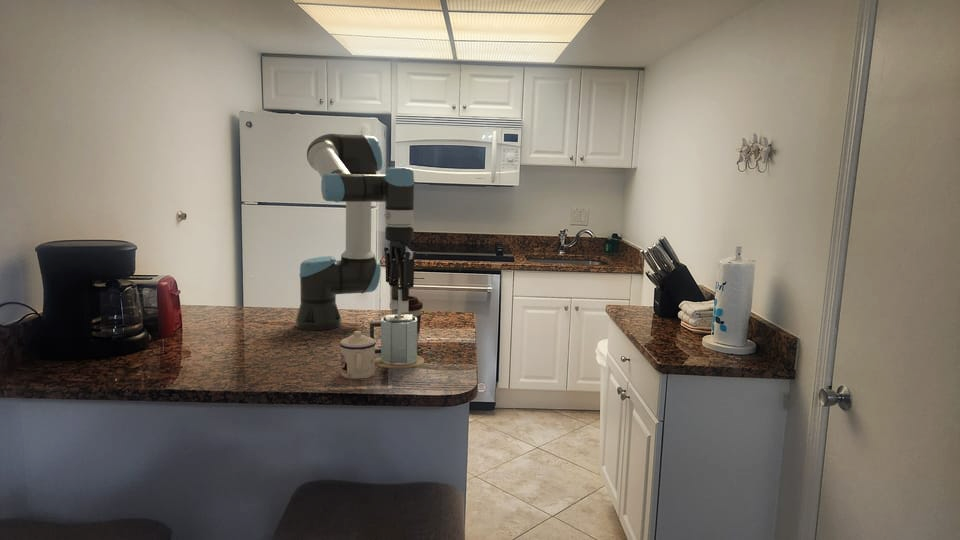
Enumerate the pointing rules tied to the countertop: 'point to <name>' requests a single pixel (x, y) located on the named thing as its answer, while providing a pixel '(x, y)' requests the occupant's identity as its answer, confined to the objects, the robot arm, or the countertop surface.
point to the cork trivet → (379, 363)
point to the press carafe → (397, 339)
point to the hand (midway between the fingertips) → (399, 310)
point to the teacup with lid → (357, 356)
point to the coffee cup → (413, 311)
